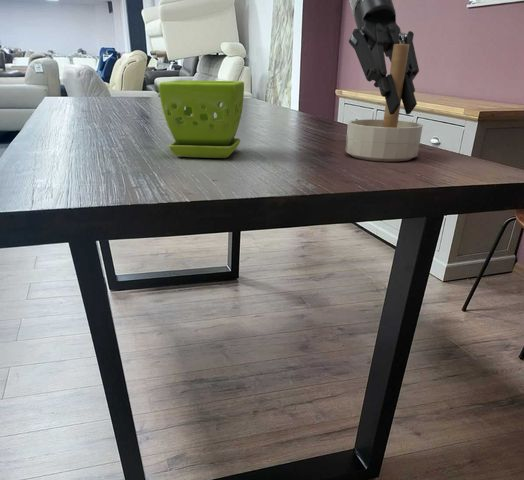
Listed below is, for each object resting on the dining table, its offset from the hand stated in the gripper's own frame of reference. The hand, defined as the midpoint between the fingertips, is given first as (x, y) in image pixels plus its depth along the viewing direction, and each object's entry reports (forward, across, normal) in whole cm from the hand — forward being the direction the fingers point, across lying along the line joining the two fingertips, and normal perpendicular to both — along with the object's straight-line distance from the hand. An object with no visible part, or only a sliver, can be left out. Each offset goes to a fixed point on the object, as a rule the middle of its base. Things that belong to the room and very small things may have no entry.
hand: (403, 109), depth 92 cm
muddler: (+1, 0, -7) cm, 7 cm away
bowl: (+4, +2, -8) cm, 9 cm away
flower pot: (-1, +36, -14) cm, 38 cm away
